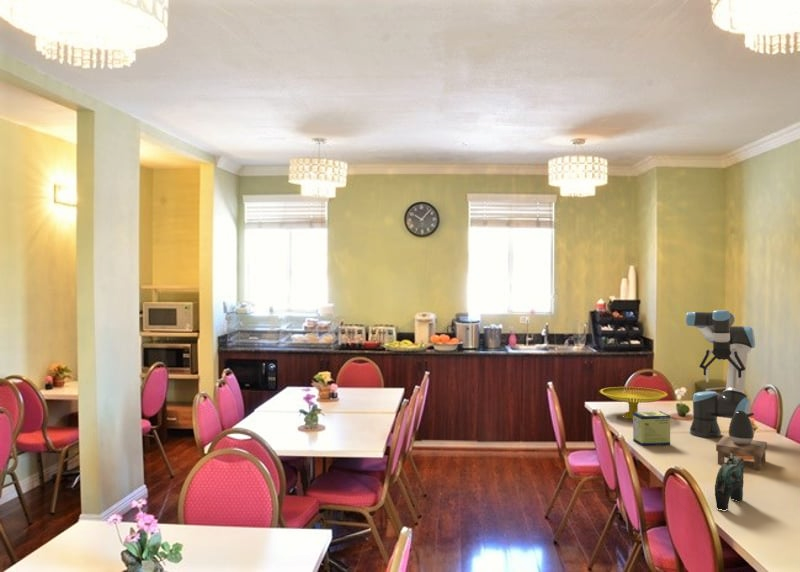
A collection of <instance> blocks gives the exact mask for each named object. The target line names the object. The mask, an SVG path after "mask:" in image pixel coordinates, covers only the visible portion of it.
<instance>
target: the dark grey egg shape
mask: <svg viewBox="0 0 800 572" xmlns="http://www.w3.org/2000/svg"><path fill="white" fill-rule="evenodd" d="M754 415H755V414H754V412H751V413H750V412H749V413H748V414H747V413H746V412H744V411H737V412H735V414H734V415H733V417H732V418H730V419H731V420H730V423H729V427H728V436H729V437H730V438H731V440H732V441H733V442H734V443H736V444H741V445H747V444H749V443H751V442H752V440H754V437H755V433H754V426H753V424H752V421H751V419H750V417H753V416H754Z"/></svg>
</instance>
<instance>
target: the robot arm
mask: <svg viewBox="0 0 800 572" xmlns="http://www.w3.org/2000/svg"><path fill="white" fill-rule="evenodd" d="M735 319H736V318H735V316H734V314H733V313H731V312H730V311H729V310H727V309H725V310H724V309H717V310H713V311H712V312H709V311H708V312H707V311H706V312H705V311H704V312H703V311H689V312H687V313H686V315H685V323H686V325H687V326H689V327H696V329H697V330H698V331H700V333H701V334H702V337H703V338H704V339H705V340H707V341H708V342H709V343H711V344H712V347H713V348H712V349H711V350H710V349H707V350H706V352H705V355H704V357H703V359H702V361H701V363H700V364H699V368H700V369H703V375H704V376H705V382H706V383H709V378H710V376H709V366H710V365H711V364H712V363H713V362H714V361H715V360H719V361H720V360H723V361H725V360H726V361H728V366H727V376H726V377H727V378H726V386H725V390H723V391H722V393H721V395H719V394H718V393H717V392H716V391H699V392H695V393H693V396H692V397H693V398H692V411H693V412H692V415H693V419H692V422H691V425H690V428H689V433H690V434H691V435H692V436H696V437H701V438H710V439H711V438H712V439H713V438H719V437H721V436H722V431H721V429H720V425H719V422H718V418H725V419H732V417H733V415H734V414H735V412H737V411H744V412H746V413H747V414H749V413H750V408H751V406H750V405H751V401H750V398H749V397H748V395H747V394H746V393H745V384H746V374H747V362H748V354H749V353H751V351H752V349H753V348H755V347H756V340H755V339H756V338H755V332H754V330H753V328H752V327H750V326H744V325H743V326H739V325H734V324H735ZM733 325H734V326H733ZM711 354H712V355H713V357H712V358H711V359H710V360H709V361H708V362H707V363H706V361H707V360H708V358H709V356H710V355H711ZM705 363H706V364H705Z"/></svg>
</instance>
